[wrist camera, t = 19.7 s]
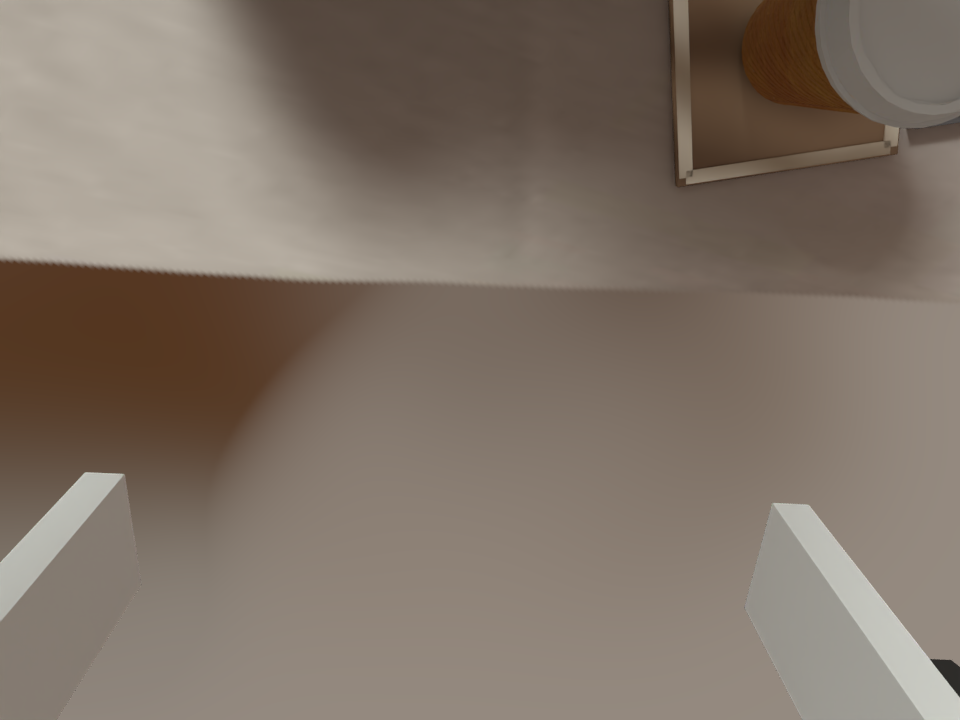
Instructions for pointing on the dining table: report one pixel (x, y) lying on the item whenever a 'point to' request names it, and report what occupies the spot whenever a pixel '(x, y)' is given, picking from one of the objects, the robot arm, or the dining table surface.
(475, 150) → the dining table surface
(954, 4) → the disposable coffee cup
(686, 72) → the brown square tray
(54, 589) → the robot arm
